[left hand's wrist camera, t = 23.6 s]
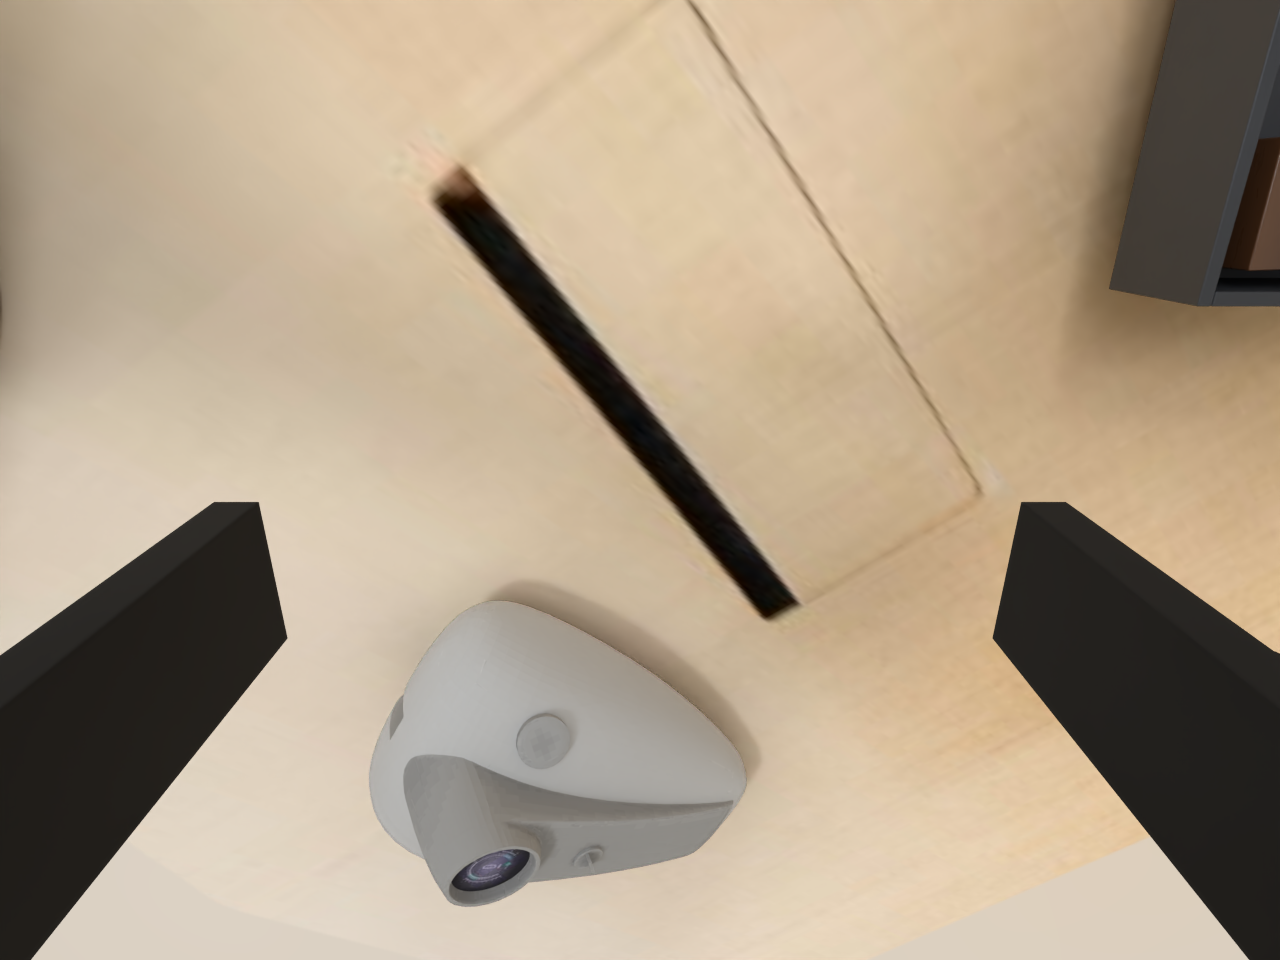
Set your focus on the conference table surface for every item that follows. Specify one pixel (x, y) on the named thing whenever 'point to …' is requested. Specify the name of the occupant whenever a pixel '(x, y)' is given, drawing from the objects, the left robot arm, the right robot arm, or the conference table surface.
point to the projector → (544, 759)
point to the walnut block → (1258, 214)
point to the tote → (1203, 156)
